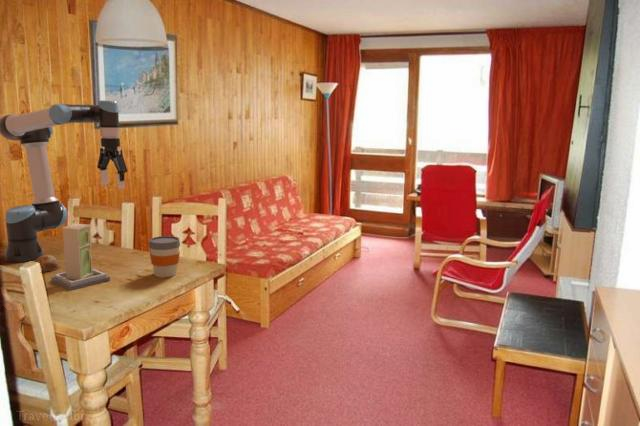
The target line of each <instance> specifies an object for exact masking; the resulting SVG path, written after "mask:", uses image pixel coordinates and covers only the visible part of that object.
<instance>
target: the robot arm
mask: <svg viewBox="0 0 640 426" xmlns="http://www.w3.org/2000/svg"><path fill="white" fill-rule="evenodd" d="M119 112H120V110H119V105H118V102H117V101H115V100H99V101H98V105H96V104H67V103H66V104H65V103H57V104H52V105H50V107H48V108H44V109H39V110H35V111H30V112H27V113H22V114H18V113H17V114H16V113H11V114H6V115H3V116H1V117H0V135H1V136H2V137H3V138H5V139H7V140H9V141H18V142H20V145H21V147H23V148H24V149H25V153H26V160H27V166H28V170H29V175H30V176H29V177H30V181H31V188H32V193H33V198H34V199H33V201H31V204H23V205H18V206H13V207H11V208H9V209H7V210H6V211H5V217H4V218H5V219H4V221H5V225H6V226H5V227H6V236H7V237H6V238H7V244H6V245H7V246H6V248H5V252H4V260H5V261H6V262H9V263H10V262H11V263H22V262H29V261H31V262H32V261H35V260H36V259H37V258H39V257H40V256H43V255H44V251H43V248H42V246H41V245H40V243H39V240H38V233H39V232H40V233H41V232H43V231H49V230H54V229H57V228H60V227H62V226H63V225H64V224H65V223H66V221H67V218H68V212H67V211H68V210H67V208H66V207H65V205H64V203H60V199H59V198H58V197H56V196H55V195H56V194H55V190H54V183H53V178H52V173H51V168H50V163H49V162H50V161H49V156H48V150H47V146H48V145H49V143H50V141H49V140H50V139H51V138H52V136H53V133H54V130H53V127H56V126H60V125H65V124H80V123H81V124H82V123H83V124H84V123H85V124H86V123H87V124H91V123H92V124H93V123H96V124H97V123H98V124H99V129H100V131H99V133H100V137H101V138H100V146H101V147H100V148H99V157H98V161H97V162H98V163H97V169H99V170H100V180H101V186H107V185H109V176H108V174H109V173H108V166H109V163H110V161H111V162H112V163H113V164H114V166H115V169H116V170H117V172H116V176H117V189H118V190H122V189H126V187H125V186H126V183H125V173H128V168H127V164H126V162H125V158H124V155H123V150H122V149H118V148H119V147H120V146H121V139H120V138H119V137H120V121H119V120H120V119H119V117H120V116H119Z"/></svg>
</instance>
